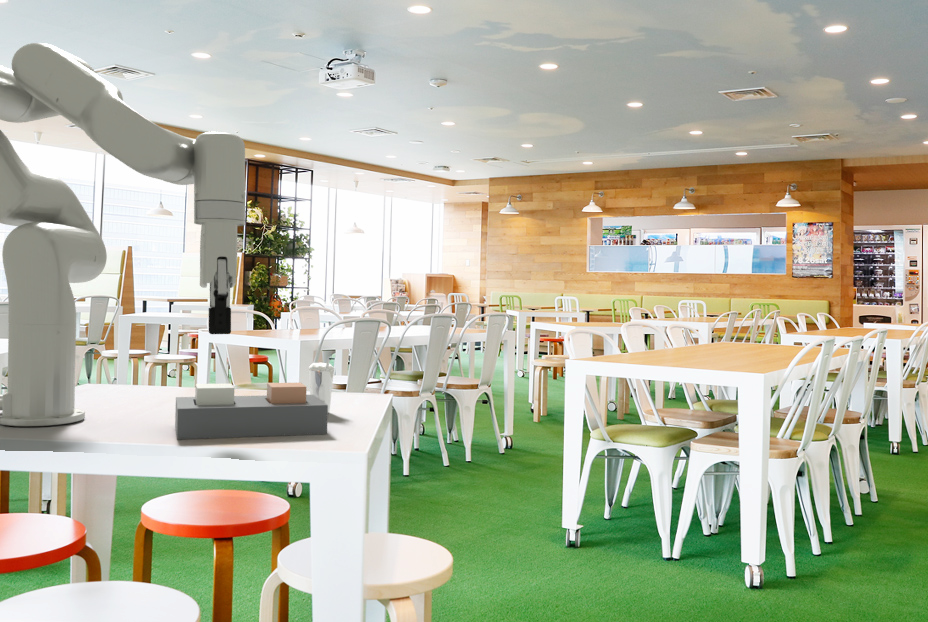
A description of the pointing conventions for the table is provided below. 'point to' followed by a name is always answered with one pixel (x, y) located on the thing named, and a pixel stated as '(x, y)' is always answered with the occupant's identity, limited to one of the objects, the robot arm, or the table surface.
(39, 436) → the table surface
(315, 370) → the milkshake
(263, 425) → the key panel
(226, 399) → the white square block
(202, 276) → the robot arm
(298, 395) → the clay key
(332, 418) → the table surface
